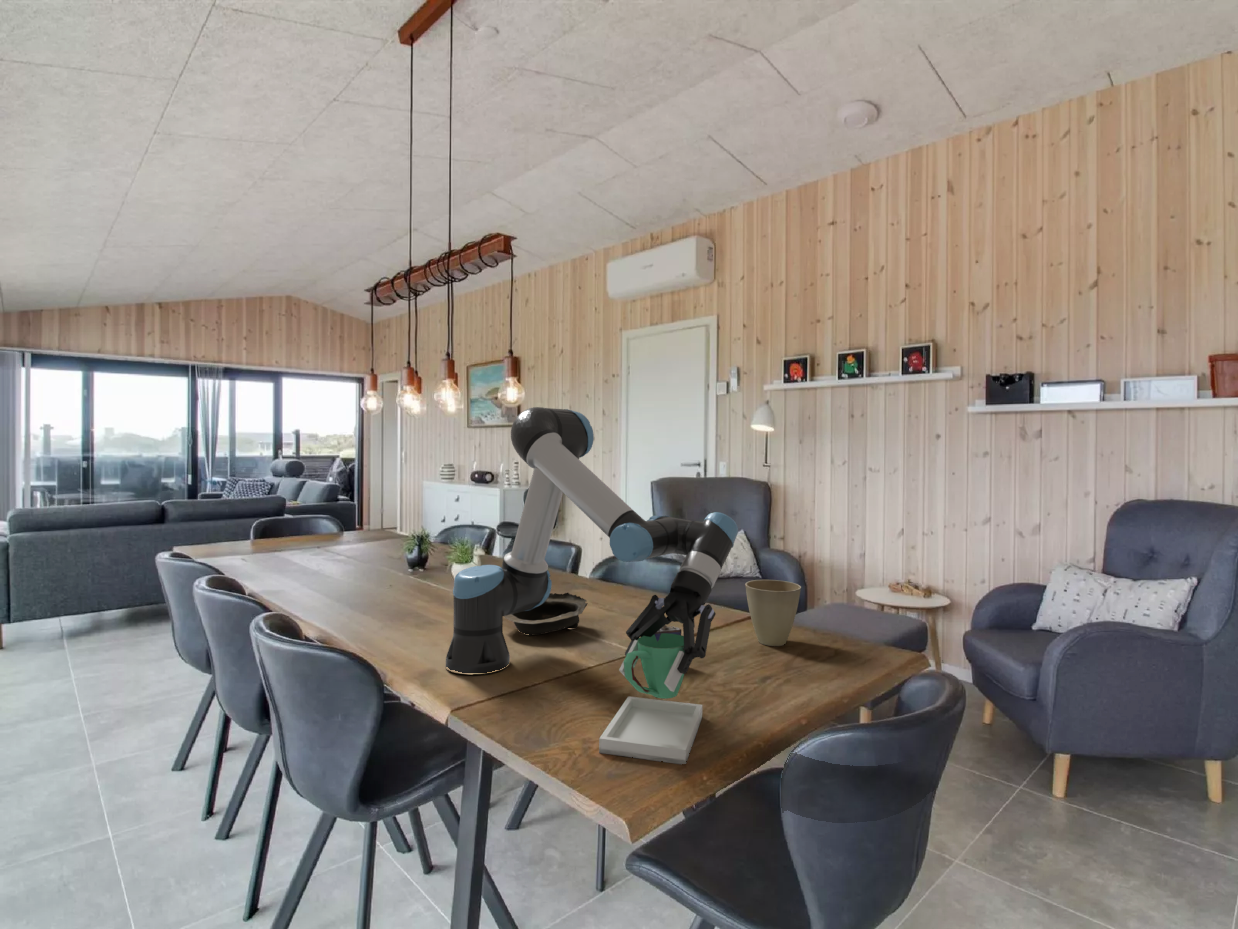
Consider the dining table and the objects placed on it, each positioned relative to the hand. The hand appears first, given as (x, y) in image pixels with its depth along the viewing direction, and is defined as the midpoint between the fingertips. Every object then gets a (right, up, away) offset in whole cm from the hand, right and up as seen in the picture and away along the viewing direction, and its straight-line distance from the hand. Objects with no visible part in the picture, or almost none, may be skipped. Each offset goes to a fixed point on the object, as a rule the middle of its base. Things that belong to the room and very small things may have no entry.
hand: (645, 680), depth 115 cm
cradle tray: (+2, -11, +3) cm, 11 cm away
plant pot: (+37, -10, +61) cm, 73 cm away
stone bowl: (-26, -10, +71) cm, 76 cm away
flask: (+6, -10, +41) cm, 43 cm away
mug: (+2, -4, +3) cm, 5 cm away
